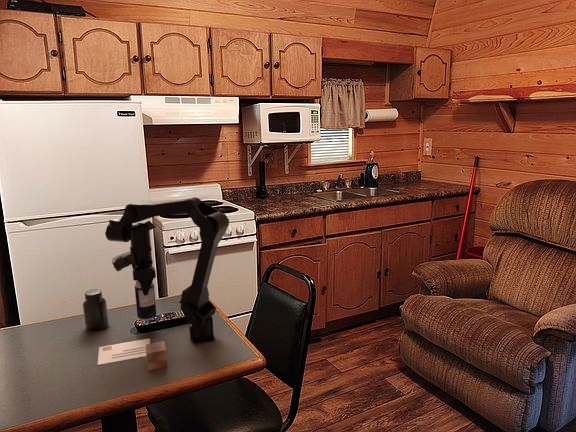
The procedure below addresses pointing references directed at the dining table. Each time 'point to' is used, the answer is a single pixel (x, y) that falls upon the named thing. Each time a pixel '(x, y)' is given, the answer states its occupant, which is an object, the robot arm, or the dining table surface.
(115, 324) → the dining table surface
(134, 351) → the letter
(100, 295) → the supplement bottle
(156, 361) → the walnut block
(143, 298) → the beverage can
